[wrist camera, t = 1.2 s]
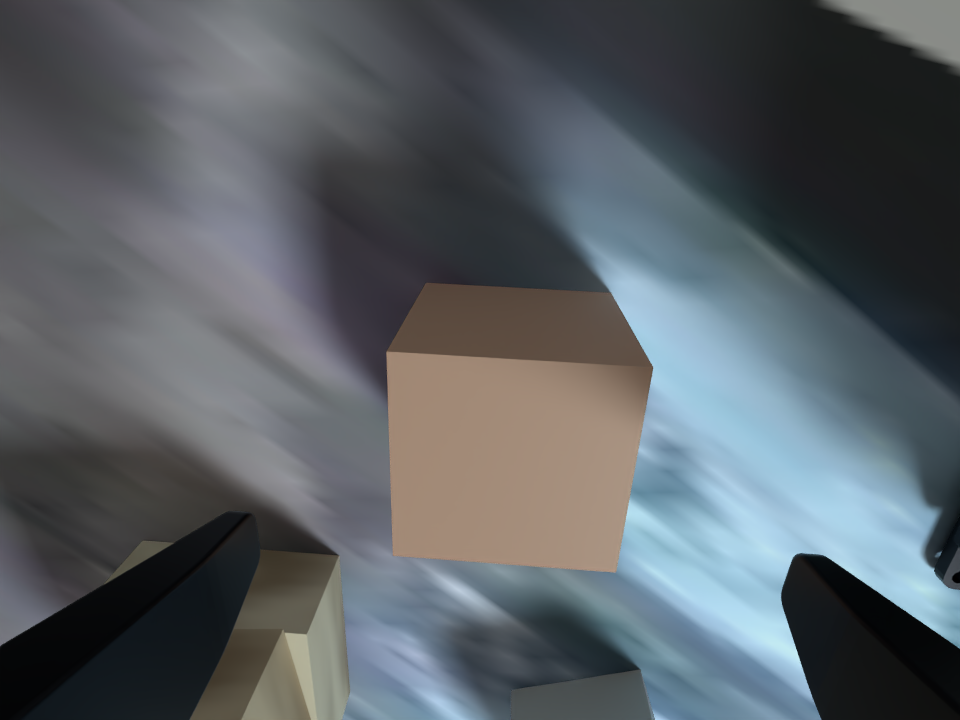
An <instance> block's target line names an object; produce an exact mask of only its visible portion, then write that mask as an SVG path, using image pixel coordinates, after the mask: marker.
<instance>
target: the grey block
mask: <svg viewBox="0 0 960 720" xmlns="http://www.w3.org/2000/svg"><path fill="white" fill-rule="evenodd" d="M511 720H655V718H654V714H653V711H652V708H651V704H650V701H649V697H648V694H647V690H646V687H645V684H644V680H643V677H642V673H641V670H634V671H628V672H621V673H615V674H609V675H602V676H596V677H590V678H583V679H577V680H571V681H564V682H558V683H552V684H545V685H539V686H533V687H526V688H520V689H514V690H511Z"/></svg>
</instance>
